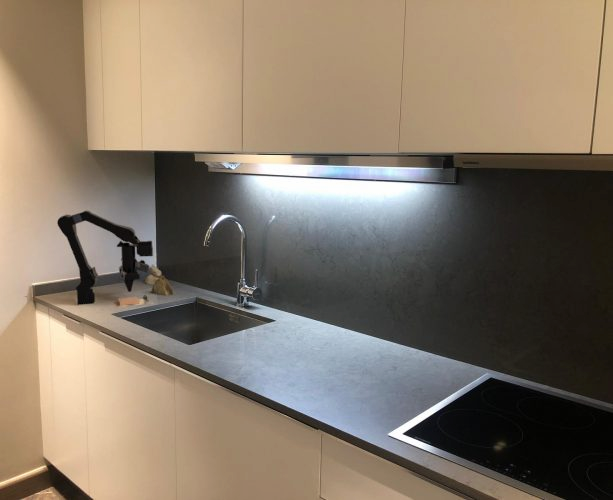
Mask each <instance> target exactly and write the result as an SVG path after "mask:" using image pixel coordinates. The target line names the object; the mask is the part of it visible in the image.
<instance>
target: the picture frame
mask: <svg viewBox="0 0 613 500" xmlns="http://www.w3.org/2000/svg"><path fill="white" fill-rule="evenodd" d="M139 299H140V298H138V297H137V296H133V297H132V296H131V297H123V298H120V297H119V298H117V301H118V303H119V304H120V305H130V304H139Z"/></svg>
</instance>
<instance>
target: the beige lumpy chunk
mask: <svg viewBox="0 0 613 500" xmlns="http://www.w3.org/2000/svg"><path fill="white" fill-rule="evenodd" d="M148 270H150V274H149V275H148V276H147V277H146V278H145V280H144V284H147V285H154V283H155V282H156V281H157V280H158V279H159V278H160V277H161V275H162V274H163V273H162V270H160V269H158V268H157V266H156V265H155V264H151V265H149V269H148Z"/></svg>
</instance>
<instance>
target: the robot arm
mask: <svg viewBox="0 0 613 500" xmlns="http://www.w3.org/2000/svg"><path fill="white" fill-rule="evenodd" d="M83 222H88V223H90V224H92V225H95V226H97V227H99V228H101V229H103V230H105V231H108V232H110V233H112V234H113V235H114V236H116V237H117V238H118V239H119V240H120V241H119V242H118V243H117V244H116V247H117V248H121V251H120V252H121V259H120V261H121V265H120V266H119V267H118V272H119V274H121V273H122V274H121V275H120V277H121V278H122V280H123V282H124V285H125V288H126V289H127V291H128V292H129V293H130V292H132V289H133V284H134V281H135V280H139V279H140V278H141V277H140V276H141V275H140V273H139V271H141V272H144V273H146V274H147V273H149V272H148V271H149V270H150V269H149V267H150V265H149V264H148V263H146V261H145V260H144V259H140V260H139V261H138V260H137V259H136V255H137V256H139V257H153V256H154V248H153V241H152V240H145V241H144V240H143V241H142V240H140V239H139V238H138V236H137V235H136V231H135V230H134V228H132V227H131V226H130V227H129V226H126V225H121V224H117V223H115V222H113V221H110V220H108V219H106V218H103V217H102V216H99V215H97V214H96V213H92V212H91V211H90V210H84V211H81V212H79V213H75V214H72V215H71V214H65V215H62V216H60V217H59V218H58V219H57V226H58V228H59V229H60V231H61V233H62V234H63V235H64V236H65V237H66V239H67V241H68V244H69V247H70V249H71V252H72V254H73V256H74V259H75V262H76V264H77V267H78V271H79V278H80V282H79V283H78V285H76V287H75V290H76V298H77V299H76V300H77V301H76V304H77V306H78V307H79V306H82V305H83V306H84V305H92V304H93V305H94V304H95V302H96V301H95V300H96V296H95V291H94V290H93V287H94V286H95V284H96V283H97V281H98V277H99V274H98V273H97V271H96V270H97V269H96V267H95V266H93V267H92V266H91V265H90V263H89V261H88V259H87V256H86V254H85V251H84V249H83V246H82V244H81V241H80V239H79V236H78V232H77V231H78V230H77V224H79V223H83Z"/></svg>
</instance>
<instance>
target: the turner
mask: <svg viewBox="0 0 613 500" xmlns="http://www.w3.org/2000/svg"><path fill="white" fill-rule="evenodd" d="M144 298H145V300H144V302H145V303H146V304H145V305H152V304H151V303H153V301H152V300H151V299H150V298H149V297H148V296H147V295H146V294H144V295H143V299H144ZM148 298H149V299H150V300H149V299H148Z"/></svg>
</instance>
